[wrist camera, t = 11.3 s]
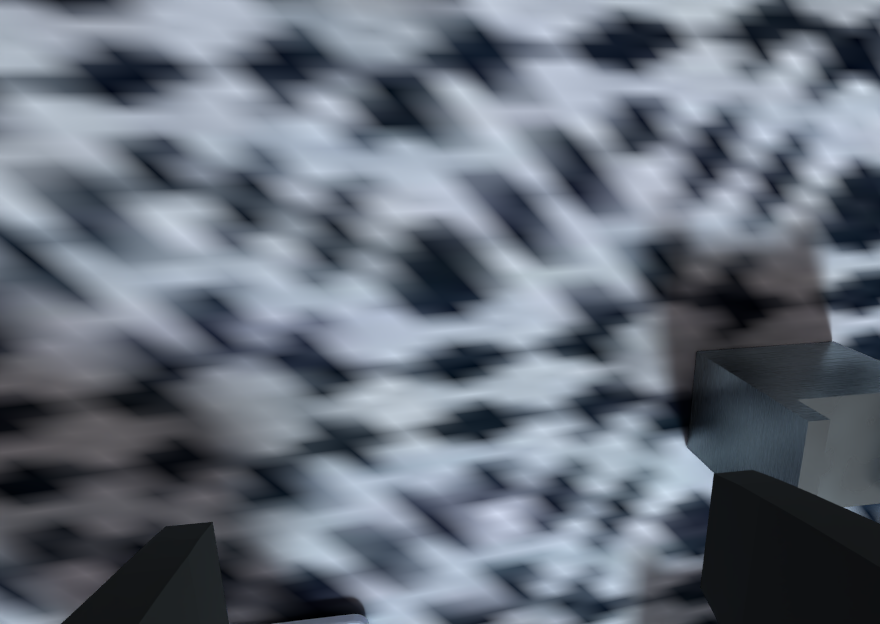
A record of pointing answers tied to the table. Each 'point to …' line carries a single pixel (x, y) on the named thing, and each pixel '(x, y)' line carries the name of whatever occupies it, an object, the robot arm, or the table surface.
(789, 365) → the cradle stands
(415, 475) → the table surface
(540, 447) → the table surface
